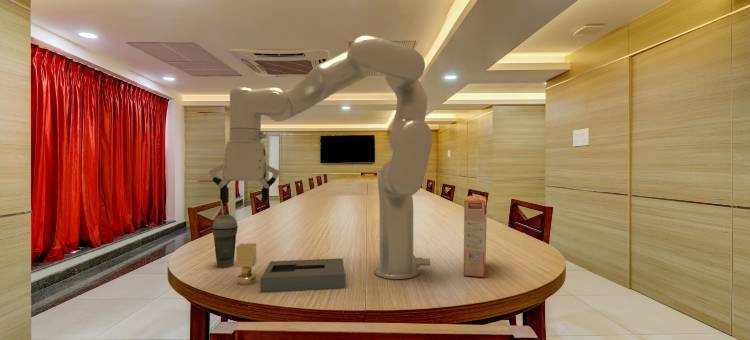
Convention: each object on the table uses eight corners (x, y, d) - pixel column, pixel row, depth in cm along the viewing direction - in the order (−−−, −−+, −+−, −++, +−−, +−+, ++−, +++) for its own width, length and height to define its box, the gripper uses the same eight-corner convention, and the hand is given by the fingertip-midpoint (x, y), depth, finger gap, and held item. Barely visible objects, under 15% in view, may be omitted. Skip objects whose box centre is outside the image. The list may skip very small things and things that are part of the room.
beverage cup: (228, 269, 97) (227, 201, 96) (206, 268, 98) (205, 200, 98) (243, 262, 104) (242, 198, 104) (222, 261, 105) (221, 198, 105)
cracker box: (486, 278, 89) (486, 200, 88) (462, 276, 90) (462, 199, 90) (486, 264, 102) (486, 195, 102) (466, 262, 104) (466, 195, 103)
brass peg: (257, 278, 89) (257, 243, 89) (253, 284, 85) (253, 247, 85) (240, 279, 88) (239, 243, 88) (235, 285, 84) (235, 247, 84)
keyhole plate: (342, 270, 96) (342, 258, 96) (344, 288, 82) (344, 273, 82) (270, 273, 93) (270, 261, 93) (260, 292, 79) (260, 277, 79)
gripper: (281, 138, 91) (281, 201, 91) (214, 137, 89) (214, 201, 89) (277, 136, 84) (277, 204, 84) (204, 134, 81) (204, 205, 81)
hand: (244, 203), depth 86 cm, fingers open, 9 cm apart
